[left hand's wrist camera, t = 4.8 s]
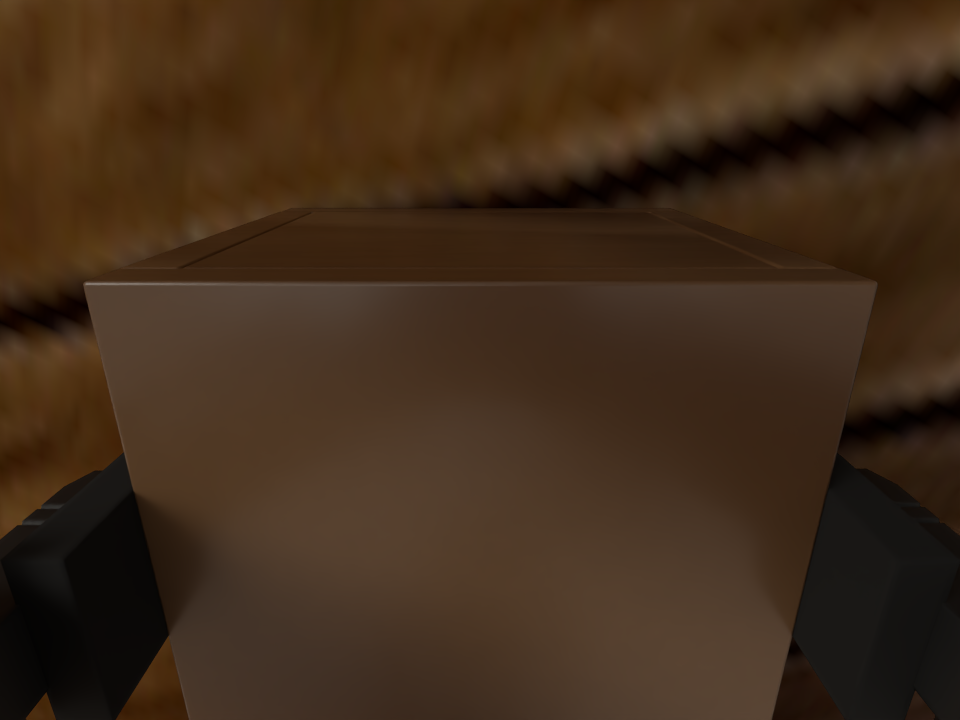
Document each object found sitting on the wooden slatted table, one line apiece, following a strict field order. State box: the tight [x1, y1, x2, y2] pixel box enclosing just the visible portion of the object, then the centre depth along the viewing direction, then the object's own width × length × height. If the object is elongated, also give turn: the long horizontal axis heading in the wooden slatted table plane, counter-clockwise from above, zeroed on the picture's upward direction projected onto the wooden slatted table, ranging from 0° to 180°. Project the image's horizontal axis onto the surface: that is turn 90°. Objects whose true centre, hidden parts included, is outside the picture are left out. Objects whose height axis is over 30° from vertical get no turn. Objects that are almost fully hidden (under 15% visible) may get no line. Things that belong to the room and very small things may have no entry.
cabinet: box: [83, 208, 878, 720], centre depth 15 cm, size 20×10×8 cm, turn 0°
